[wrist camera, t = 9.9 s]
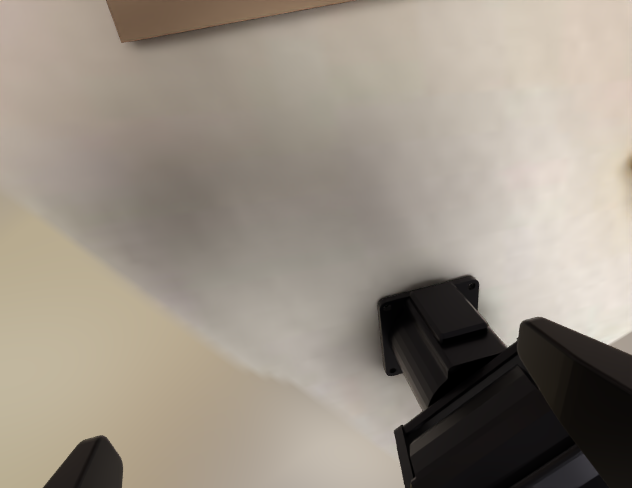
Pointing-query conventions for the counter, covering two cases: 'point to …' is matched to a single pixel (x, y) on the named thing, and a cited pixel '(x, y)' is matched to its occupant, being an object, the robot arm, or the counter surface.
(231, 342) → the counter surface
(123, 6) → the step riser
